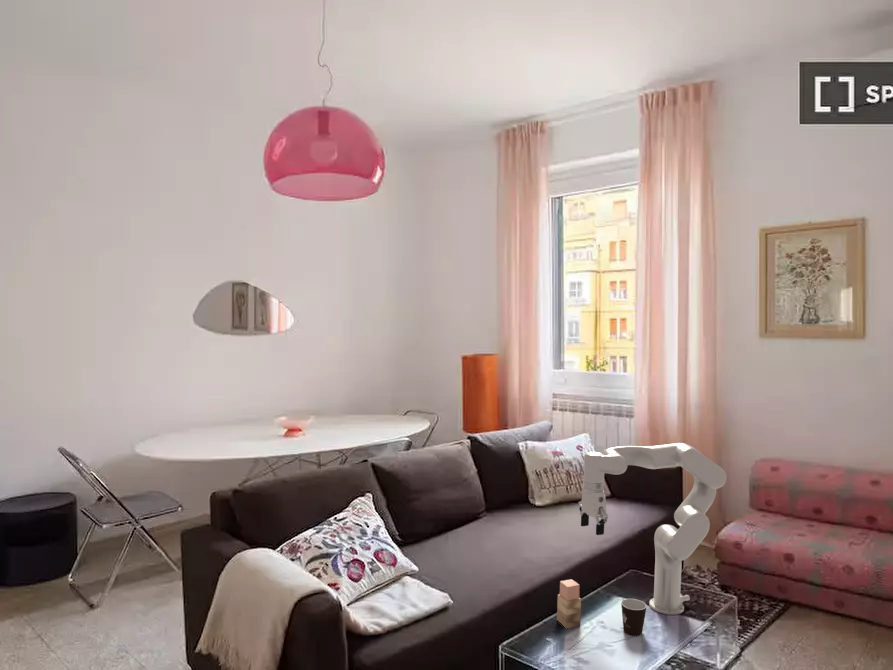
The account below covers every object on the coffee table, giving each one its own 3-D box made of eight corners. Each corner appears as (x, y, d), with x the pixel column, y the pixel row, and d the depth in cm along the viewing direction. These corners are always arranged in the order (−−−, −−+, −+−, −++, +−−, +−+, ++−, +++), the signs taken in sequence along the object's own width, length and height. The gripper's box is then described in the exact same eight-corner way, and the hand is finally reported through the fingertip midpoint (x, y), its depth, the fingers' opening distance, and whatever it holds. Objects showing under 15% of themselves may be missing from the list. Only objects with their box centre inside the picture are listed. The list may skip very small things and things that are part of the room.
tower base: (571, 618, 246) (571, 605, 245) (580, 625, 240) (580, 612, 240) (556, 621, 243) (557, 607, 243) (565, 628, 238) (566, 615, 237)
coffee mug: (646, 639, 232) (647, 611, 231) (620, 636, 233) (621, 608, 233) (643, 623, 243) (644, 596, 242) (619, 620, 245) (620, 593, 244)
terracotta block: (571, 592, 244) (571, 579, 244) (579, 598, 240) (579, 584, 239) (559, 594, 242) (560, 581, 242) (567, 600, 238) (567, 587, 238)
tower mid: (571, 604, 245) (571, 591, 245) (580, 612, 240) (581, 598, 239) (557, 607, 243) (557, 594, 243) (566, 615, 237) (566, 601, 237)
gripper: (616, 491, 244) (614, 536, 245) (588, 478, 260) (587, 521, 261) (598, 493, 241) (597, 539, 242) (572, 480, 257) (570, 523, 258)
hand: (592, 530), depth 252 cm, fingers open, 9 cm apart
